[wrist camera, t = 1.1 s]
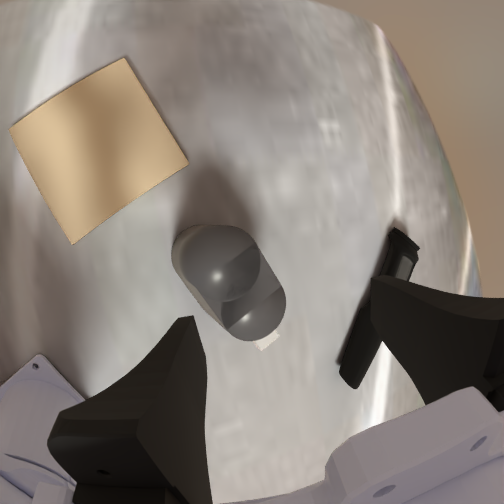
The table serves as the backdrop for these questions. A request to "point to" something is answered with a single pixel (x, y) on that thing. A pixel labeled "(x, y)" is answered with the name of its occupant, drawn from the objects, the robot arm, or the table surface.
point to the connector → (231, 281)
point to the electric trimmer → (364, 333)
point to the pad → (96, 148)
